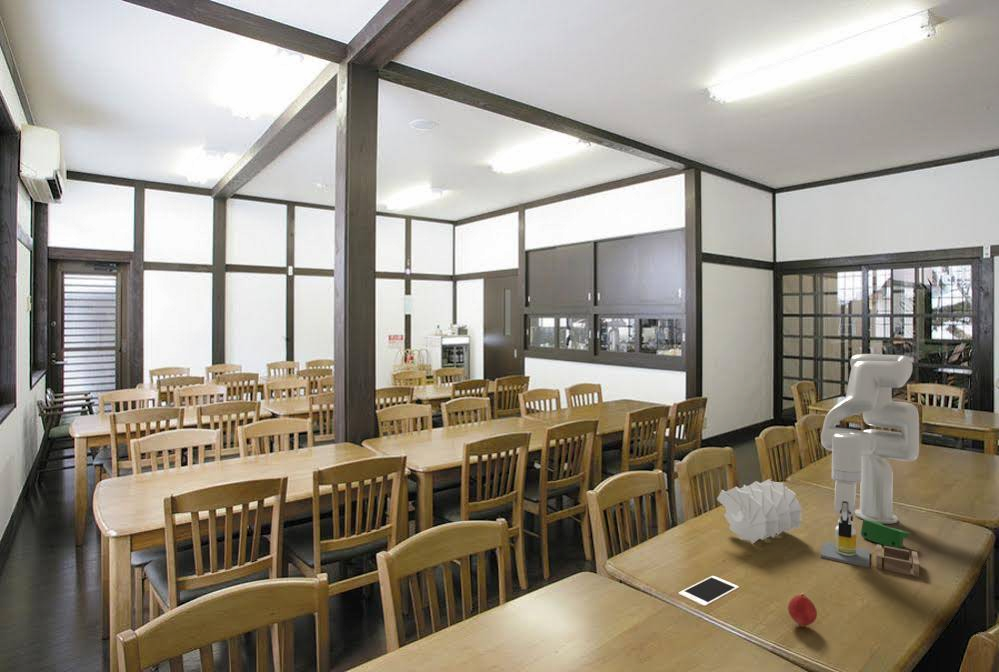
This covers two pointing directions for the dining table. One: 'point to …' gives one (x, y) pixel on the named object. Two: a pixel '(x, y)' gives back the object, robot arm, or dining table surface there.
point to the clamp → (883, 534)
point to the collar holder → (897, 560)
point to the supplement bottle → (845, 542)
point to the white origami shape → (761, 510)
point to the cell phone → (708, 590)
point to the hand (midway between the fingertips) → (845, 531)
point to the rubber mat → (858, 559)
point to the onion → (802, 610)
